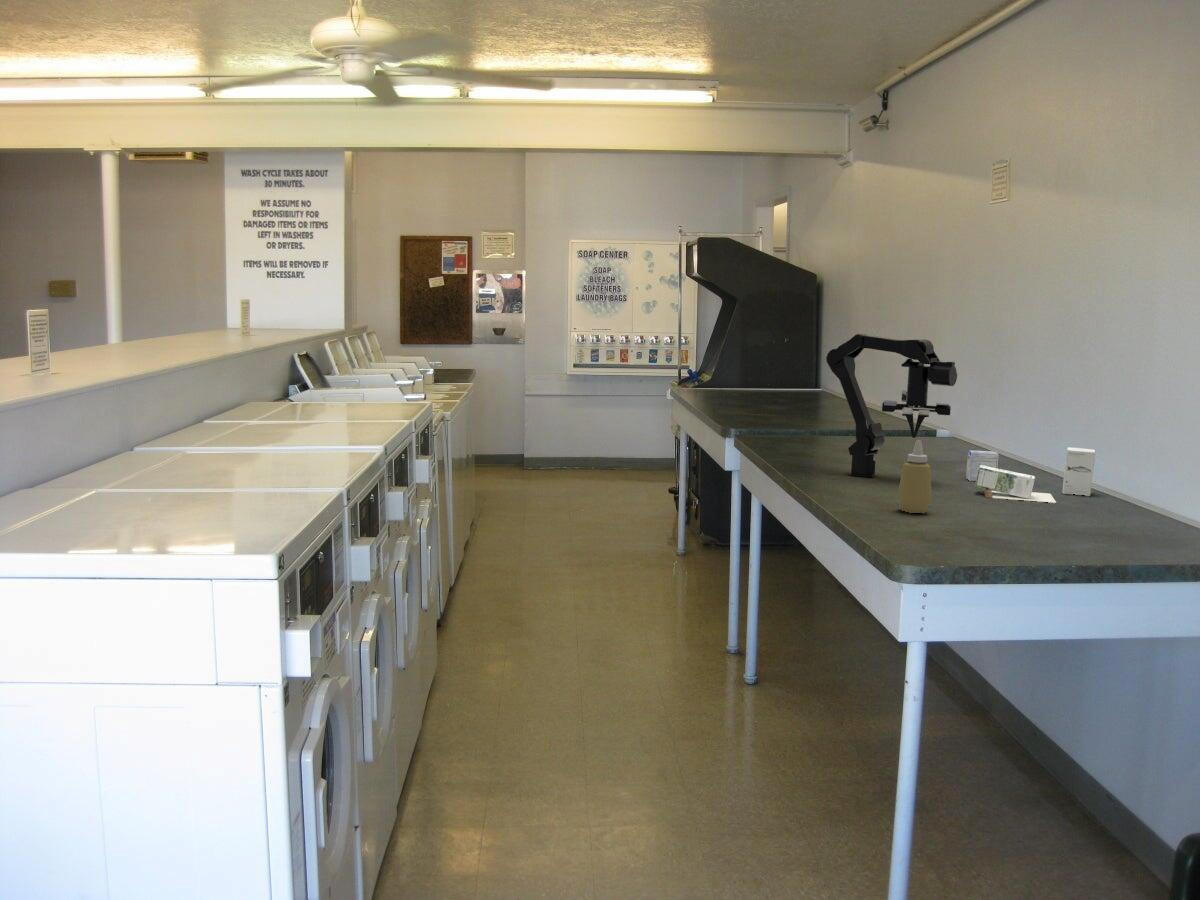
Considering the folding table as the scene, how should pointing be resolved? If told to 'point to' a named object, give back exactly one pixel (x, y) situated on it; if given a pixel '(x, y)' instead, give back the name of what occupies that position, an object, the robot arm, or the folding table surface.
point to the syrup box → (1005, 481)
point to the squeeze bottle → (915, 482)
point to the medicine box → (979, 462)
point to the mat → (1034, 497)
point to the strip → (988, 493)
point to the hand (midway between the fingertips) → (913, 437)
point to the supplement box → (1078, 471)
